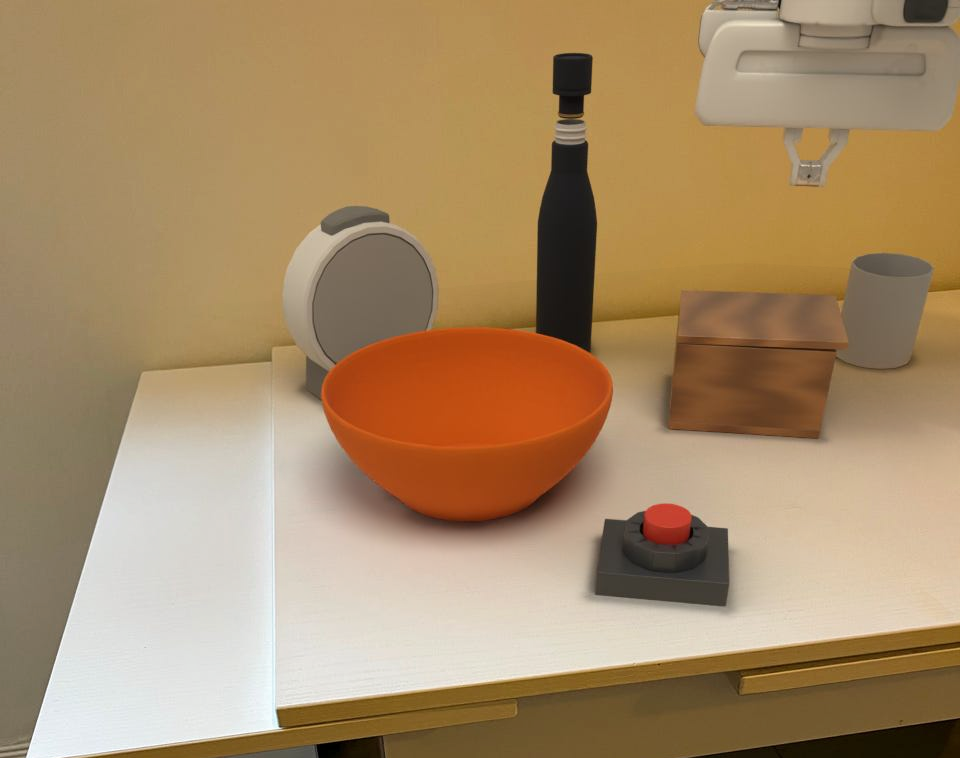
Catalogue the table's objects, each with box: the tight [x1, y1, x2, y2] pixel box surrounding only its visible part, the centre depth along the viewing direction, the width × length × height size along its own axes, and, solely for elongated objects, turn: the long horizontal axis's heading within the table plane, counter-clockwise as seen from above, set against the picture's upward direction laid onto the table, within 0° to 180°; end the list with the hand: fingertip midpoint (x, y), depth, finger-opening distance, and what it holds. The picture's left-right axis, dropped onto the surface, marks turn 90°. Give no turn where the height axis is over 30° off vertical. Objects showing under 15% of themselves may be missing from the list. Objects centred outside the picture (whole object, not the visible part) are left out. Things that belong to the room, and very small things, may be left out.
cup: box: [836, 252, 935, 370], centre depth 110 cm, size 8×8×10 cm
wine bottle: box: [535, 52, 598, 354], centre depth 106 cm, size 6×6×30 cm
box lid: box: [678, 289, 849, 350], centre depth 98 cm, size 16×13×1 cm
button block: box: [594, 510, 730, 607], centre depth 79 cm, size 10×8×4 cm
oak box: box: [667, 305, 837, 439], centre depth 101 cm, size 15×13×9 cm
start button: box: [643, 503, 692, 545], centre depth 77 cm, size 4×4×2 cm
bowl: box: [320, 326, 614, 522], centre depth 89 cm, size 25×25×10 cm
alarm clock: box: [281, 205, 440, 400], centre depth 104 cm, size 16×10×18 cm, turn 126°
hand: (806, 185), depth 85 cm, fingers closed
